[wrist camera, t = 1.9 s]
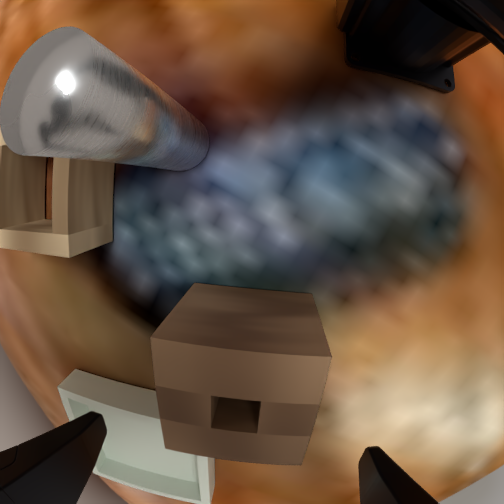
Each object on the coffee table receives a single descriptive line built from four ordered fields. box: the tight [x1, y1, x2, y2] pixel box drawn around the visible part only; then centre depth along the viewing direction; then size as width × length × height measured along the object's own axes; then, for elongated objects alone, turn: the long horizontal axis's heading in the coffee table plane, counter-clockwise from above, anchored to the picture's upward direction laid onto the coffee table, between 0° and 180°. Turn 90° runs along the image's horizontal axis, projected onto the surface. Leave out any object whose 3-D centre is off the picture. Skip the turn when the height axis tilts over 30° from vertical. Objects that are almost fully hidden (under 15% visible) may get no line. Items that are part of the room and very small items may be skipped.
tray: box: [57, 369, 215, 504], centre depth 17 cm, size 10×10×2 cm
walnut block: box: [150, 283, 332, 465], centre depth 13 cm, size 6×6×6 cm
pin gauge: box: [0, 27, 210, 171], centre depth 9 cm, size 3×3×10 cm
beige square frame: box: [0, 128, 115, 258], centre depth 13 cm, size 6×6×4 cm
